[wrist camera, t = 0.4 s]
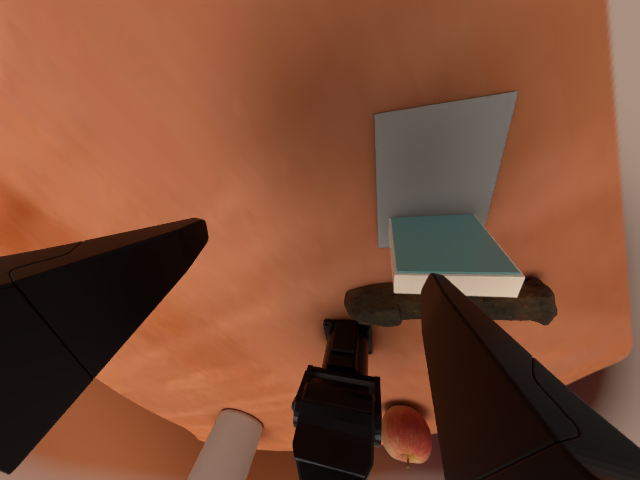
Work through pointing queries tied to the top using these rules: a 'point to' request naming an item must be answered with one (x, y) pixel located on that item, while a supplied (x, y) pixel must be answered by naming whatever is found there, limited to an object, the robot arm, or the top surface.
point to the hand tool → (530, 304)
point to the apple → (406, 434)
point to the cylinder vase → (228, 448)
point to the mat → (440, 158)
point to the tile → (450, 256)
